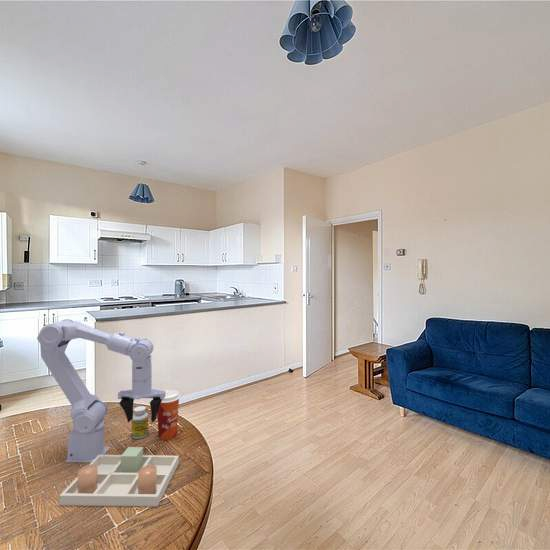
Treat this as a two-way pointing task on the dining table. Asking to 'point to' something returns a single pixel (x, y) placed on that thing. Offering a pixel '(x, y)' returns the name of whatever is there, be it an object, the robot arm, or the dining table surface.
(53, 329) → the robot arm
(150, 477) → the tan rounded capsule part
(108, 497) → the white compartment tray
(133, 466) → the pale green block
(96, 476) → the tan rounded cylinder
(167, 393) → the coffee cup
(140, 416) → the supplement bottle
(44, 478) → the dining table surface
